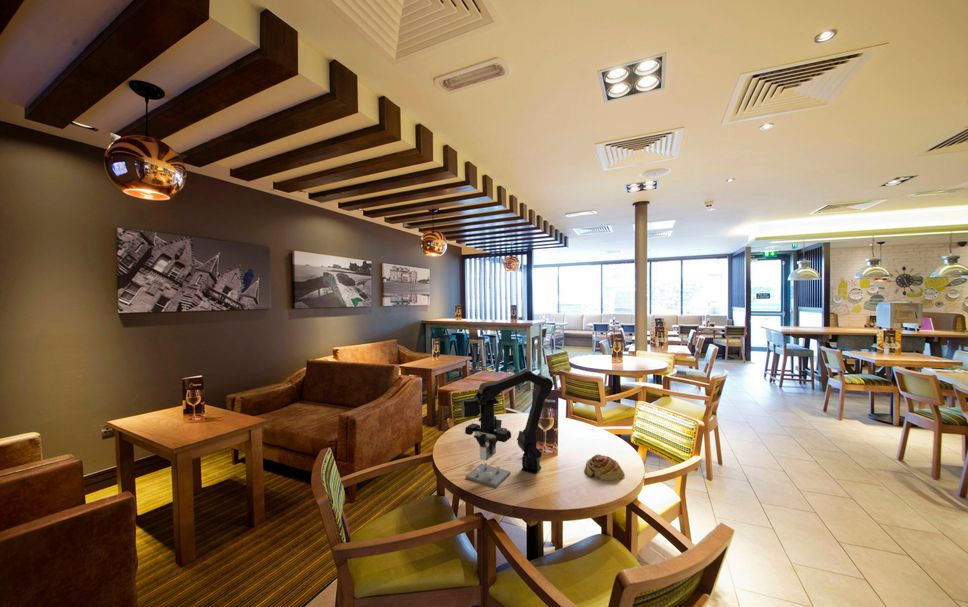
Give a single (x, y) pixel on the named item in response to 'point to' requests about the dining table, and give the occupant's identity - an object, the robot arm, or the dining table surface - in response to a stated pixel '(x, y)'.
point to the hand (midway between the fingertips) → (488, 453)
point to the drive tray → (488, 475)
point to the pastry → (603, 468)
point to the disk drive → (491, 435)
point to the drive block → (486, 451)
